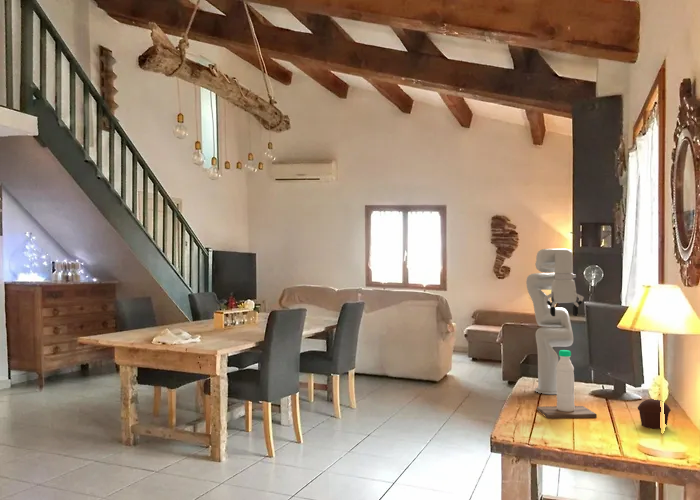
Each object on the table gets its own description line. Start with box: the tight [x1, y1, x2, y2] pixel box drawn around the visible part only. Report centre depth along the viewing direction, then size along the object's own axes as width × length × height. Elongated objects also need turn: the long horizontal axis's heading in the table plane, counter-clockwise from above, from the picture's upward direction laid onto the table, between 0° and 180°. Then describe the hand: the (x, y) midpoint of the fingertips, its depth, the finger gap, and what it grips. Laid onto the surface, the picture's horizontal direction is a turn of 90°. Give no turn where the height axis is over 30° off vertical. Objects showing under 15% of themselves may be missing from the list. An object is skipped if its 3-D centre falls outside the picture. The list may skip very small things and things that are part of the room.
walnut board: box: [536, 405, 598, 419], centre depth 257 cm, size 14×20×2 cm
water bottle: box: [556, 349, 576, 412], centre depth 257 cm, size 7×7×25 cm
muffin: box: [637, 398, 672, 430], centre depth 238 cm, size 12×11×10 cm
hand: (564, 315), depth 271 cm, fingers open, 9 cm apart
